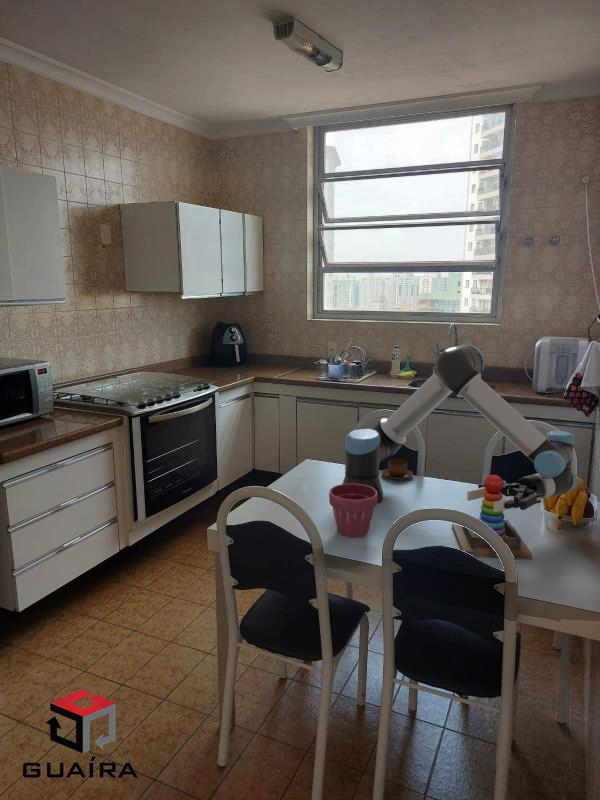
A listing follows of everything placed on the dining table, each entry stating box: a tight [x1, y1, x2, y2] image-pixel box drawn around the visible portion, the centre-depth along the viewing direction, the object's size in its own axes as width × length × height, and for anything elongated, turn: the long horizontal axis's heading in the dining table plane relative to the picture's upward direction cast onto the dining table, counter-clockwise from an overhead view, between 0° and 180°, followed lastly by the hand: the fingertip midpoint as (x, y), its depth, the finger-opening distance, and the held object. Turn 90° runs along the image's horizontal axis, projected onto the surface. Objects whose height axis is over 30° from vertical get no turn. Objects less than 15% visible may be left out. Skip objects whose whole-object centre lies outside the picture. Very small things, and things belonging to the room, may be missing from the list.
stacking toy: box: [476, 474, 506, 537], centre depth 155 cm, size 8×8×19 cm
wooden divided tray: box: [451, 519, 533, 560], centre depth 157 cm, size 18×18×4 cm
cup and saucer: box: [381, 458, 414, 481], centre depth 215 cm, size 12×12×6 cm
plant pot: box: [328, 483, 378, 539], centre depth 164 cm, size 14×14×13 cm
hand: (481, 501), depth 153 cm, fingers open, 9 cm apart
